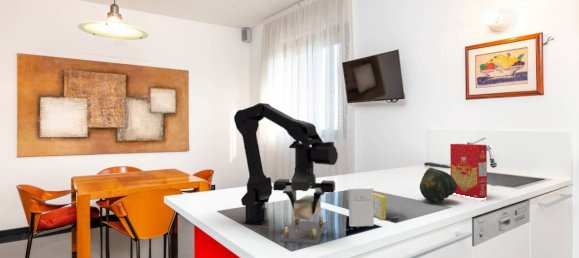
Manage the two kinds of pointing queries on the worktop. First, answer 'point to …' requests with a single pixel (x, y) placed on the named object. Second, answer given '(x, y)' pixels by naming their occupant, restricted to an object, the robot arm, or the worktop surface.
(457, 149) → the food packaging
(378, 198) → the candy box
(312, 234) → the plate
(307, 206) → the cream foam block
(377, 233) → the worktop surface
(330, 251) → the worktop surface
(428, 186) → the squash
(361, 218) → the external hard drive
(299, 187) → the robot arm
